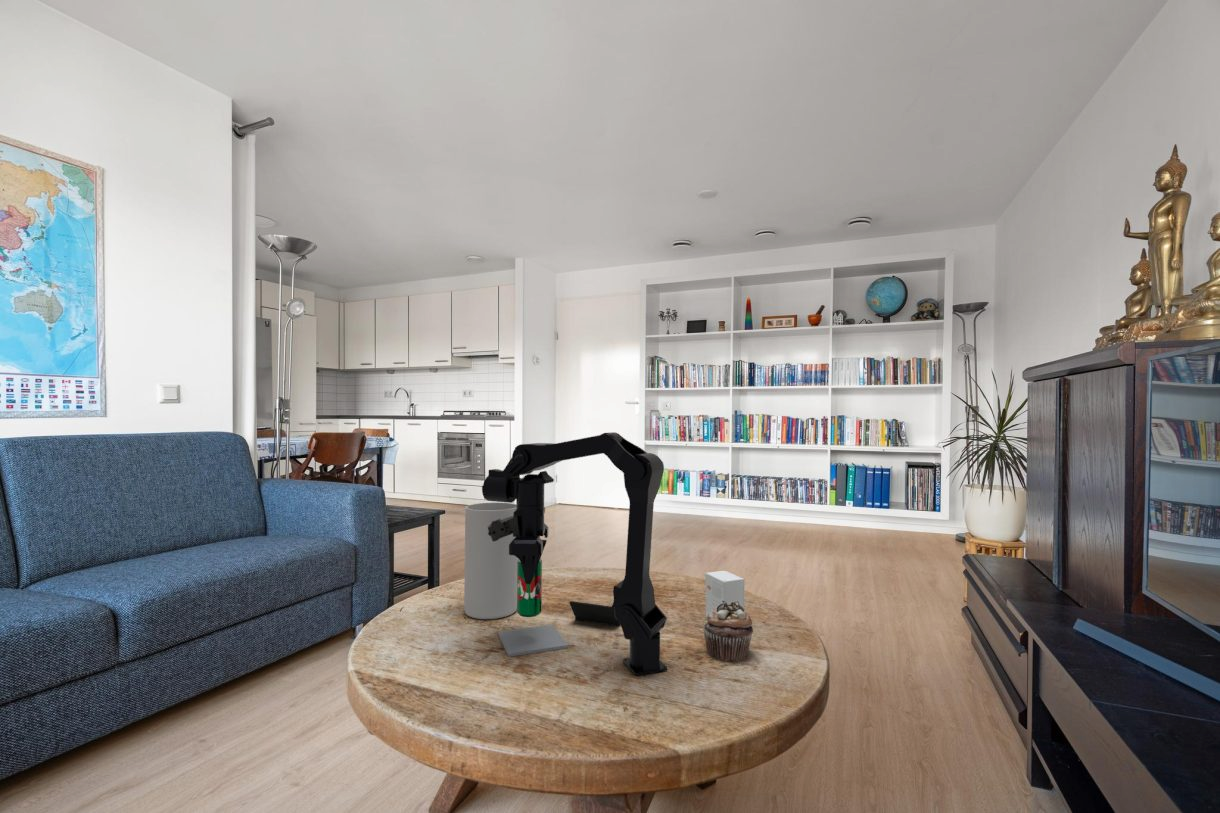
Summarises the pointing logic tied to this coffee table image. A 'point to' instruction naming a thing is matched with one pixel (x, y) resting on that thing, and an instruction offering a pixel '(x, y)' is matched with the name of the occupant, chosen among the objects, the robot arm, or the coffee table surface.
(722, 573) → the small box
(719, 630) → the cupcake
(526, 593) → the soda can
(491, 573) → the cylinder vase
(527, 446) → the robot arm
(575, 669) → the coffee table surface
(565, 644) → the slate mat
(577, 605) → the handheld gaming console
